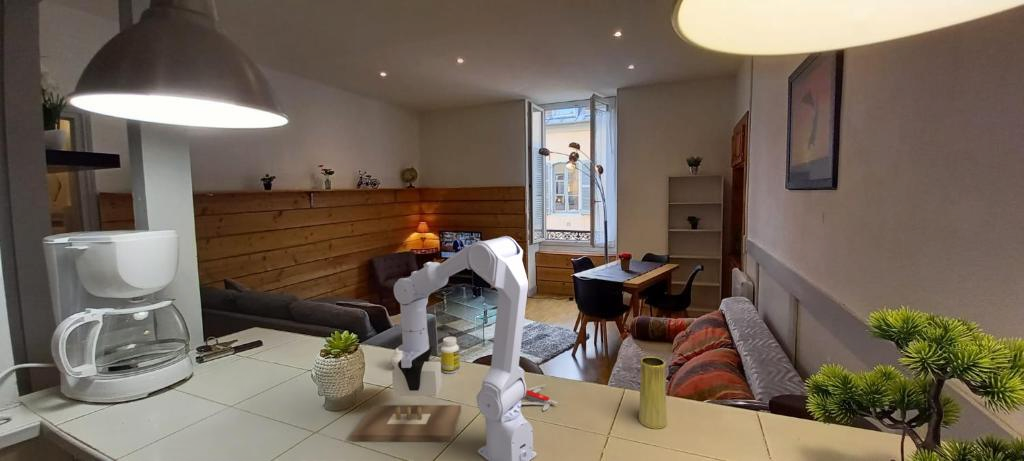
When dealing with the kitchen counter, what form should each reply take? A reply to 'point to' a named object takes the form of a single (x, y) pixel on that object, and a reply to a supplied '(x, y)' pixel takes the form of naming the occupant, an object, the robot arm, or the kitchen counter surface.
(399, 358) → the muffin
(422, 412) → the pin board
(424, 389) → the block
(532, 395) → the swiss army knife
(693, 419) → the kitchen counter surface
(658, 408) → the vase
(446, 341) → the supplement bottle
